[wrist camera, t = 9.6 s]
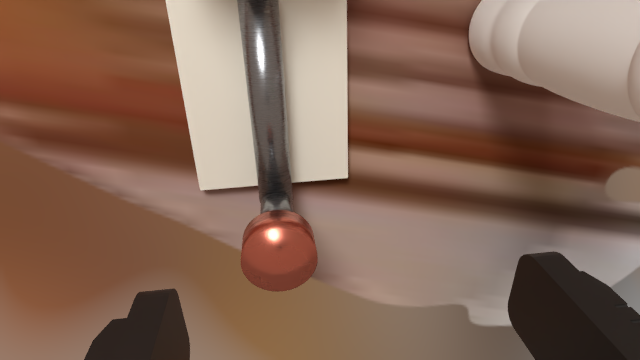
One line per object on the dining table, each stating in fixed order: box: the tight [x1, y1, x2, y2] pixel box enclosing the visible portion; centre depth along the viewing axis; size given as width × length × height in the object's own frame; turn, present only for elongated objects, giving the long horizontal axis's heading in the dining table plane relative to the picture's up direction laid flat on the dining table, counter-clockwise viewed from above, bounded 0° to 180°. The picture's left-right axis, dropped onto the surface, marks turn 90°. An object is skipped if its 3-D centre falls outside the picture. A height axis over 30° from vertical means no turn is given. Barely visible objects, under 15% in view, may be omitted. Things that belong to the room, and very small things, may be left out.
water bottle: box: [469, 0, 640, 122], centre depth 22 cm, size 7×7×25 cm
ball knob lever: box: [237, 0, 317, 291], centre depth 28 cm, size 20×5×10 cm, turn 2°
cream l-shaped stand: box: [166, 0, 348, 190], centre depth 27 cm, size 26×13×9 cm, turn 2°
